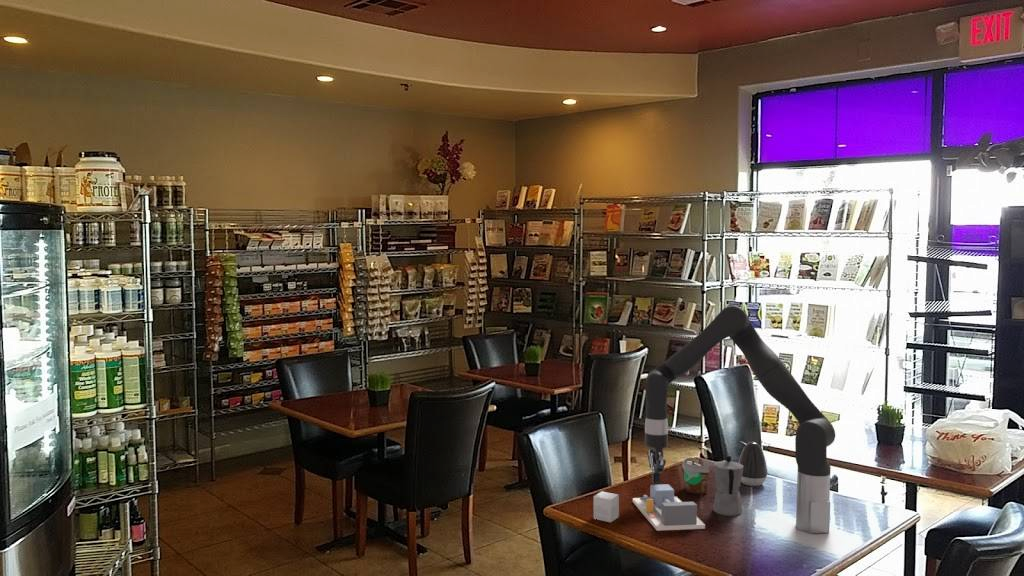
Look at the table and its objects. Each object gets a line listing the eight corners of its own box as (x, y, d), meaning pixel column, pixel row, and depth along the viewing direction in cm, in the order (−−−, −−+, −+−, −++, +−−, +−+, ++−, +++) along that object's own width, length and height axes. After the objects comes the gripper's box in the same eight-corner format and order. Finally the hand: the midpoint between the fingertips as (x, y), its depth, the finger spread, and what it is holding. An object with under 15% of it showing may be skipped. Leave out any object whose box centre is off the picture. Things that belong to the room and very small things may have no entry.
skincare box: (619, 517, 248) (619, 494, 247) (610, 523, 243) (610, 499, 242) (601, 513, 251) (602, 490, 251) (592, 519, 246) (593, 495, 246)
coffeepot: (710, 503, 261) (711, 449, 260) (739, 505, 260) (741, 451, 259) (715, 519, 246) (716, 462, 245) (746, 521, 245) (748, 464, 243)
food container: (674, 486, 279) (675, 458, 278) (690, 484, 281) (690, 456, 280) (692, 497, 267) (693, 468, 267) (708, 495, 269) (709, 466, 269)
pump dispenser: (747, 477, 289) (748, 436, 288) (772, 484, 281) (773, 442, 280) (730, 483, 283) (731, 441, 282) (756, 490, 275) (757, 447, 274)
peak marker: (653, 512, 248) (653, 499, 248) (646, 512, 248) (647, 499, 247) (652, 511, 249) (652, 498, 249) (645, 511, 249) (646, 498, 248)
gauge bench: (705, 528, 238) (705, 505, 238) (656, 530, 237) (657, 507, 236) (676, 500, 264) (676, 478, 264) (632, 501, 262) (633, 480, 262)
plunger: (679, 512, 248) (679, 495, 248) (647, 513, 247) (647, 496, 246) (667, 500, 259) (668, 484, 259) (637, 501, 258) (637, 485, 257)
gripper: (674, 435, 255) (673, 488, 256) (661, 426, 268) (660, 476, 269) (651, 436, 254) (651, 489, 255) (639, 427, 267) (639, 477, 268)
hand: (655, 483), depth 262 cm, fingers closed
